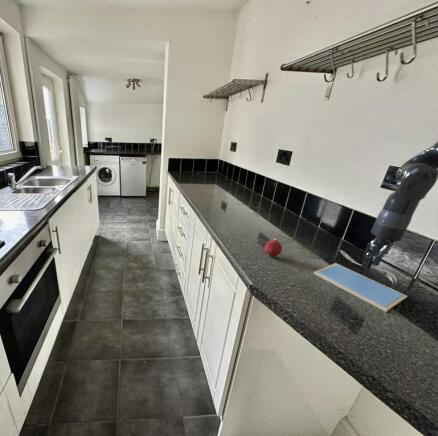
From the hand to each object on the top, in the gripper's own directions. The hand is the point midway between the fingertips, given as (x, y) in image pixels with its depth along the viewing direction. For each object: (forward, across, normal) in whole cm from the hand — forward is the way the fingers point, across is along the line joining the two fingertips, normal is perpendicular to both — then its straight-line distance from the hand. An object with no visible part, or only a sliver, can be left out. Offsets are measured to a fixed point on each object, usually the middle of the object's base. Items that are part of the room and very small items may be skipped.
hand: (369, 266), depth 82 cm
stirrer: (+3, +2, +2) cm, 4 cm away
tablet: (+3, -12, -2) cm, 12 cm away
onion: (+4, -23, +22) cm, 32 cm away
